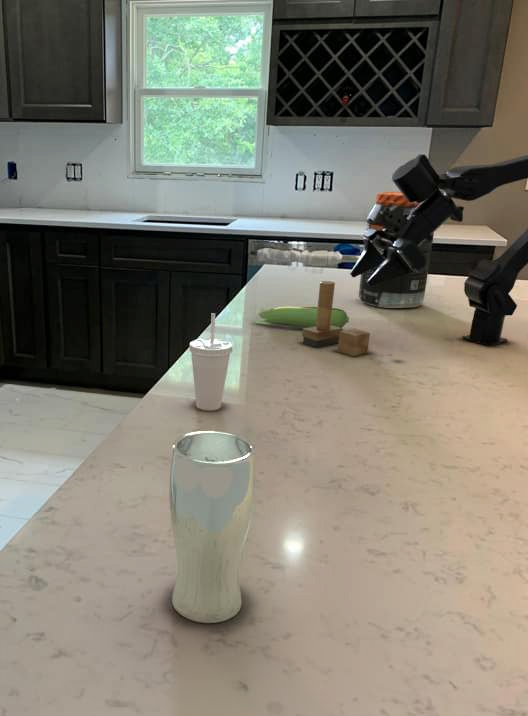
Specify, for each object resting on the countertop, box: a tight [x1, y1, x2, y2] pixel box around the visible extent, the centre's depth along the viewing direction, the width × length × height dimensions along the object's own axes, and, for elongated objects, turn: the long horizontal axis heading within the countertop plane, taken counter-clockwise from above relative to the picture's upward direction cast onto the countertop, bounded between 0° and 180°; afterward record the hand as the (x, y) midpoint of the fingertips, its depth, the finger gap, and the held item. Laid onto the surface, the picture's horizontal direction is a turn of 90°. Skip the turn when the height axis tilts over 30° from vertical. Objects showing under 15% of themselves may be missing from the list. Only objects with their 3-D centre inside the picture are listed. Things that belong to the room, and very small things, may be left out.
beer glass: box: [168, 430, 256, 624], centre depth 61 cm, size 7×7×15 cm
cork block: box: [337, 328, 371, 357], centre depth 139 cm, size 4×4×4 cm
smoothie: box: [188, 312, 234, 411], centre depth 108 cm, size 6×6×14 cm
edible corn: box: [254, 306, 350, 329], centre depth 156 cm, size 5×20×5 cm, turn 74°
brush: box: [302, 280, 343, 348], centre depth 143 cm, size 7×4×12 cm, turn 126°
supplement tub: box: [358, 191, 435, 309], centre depth 176 cm, size 16×16×26 cm
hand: (359, 280), depth 141 cm, fingers open, 9 cm apart
